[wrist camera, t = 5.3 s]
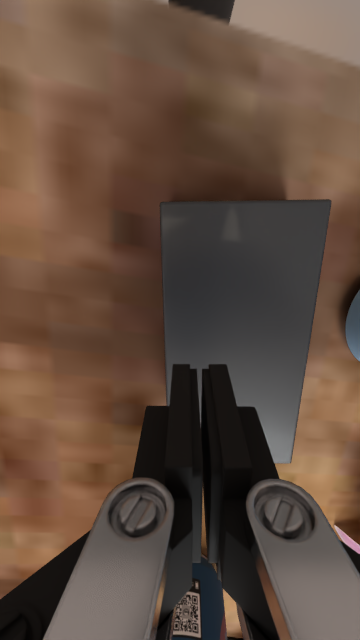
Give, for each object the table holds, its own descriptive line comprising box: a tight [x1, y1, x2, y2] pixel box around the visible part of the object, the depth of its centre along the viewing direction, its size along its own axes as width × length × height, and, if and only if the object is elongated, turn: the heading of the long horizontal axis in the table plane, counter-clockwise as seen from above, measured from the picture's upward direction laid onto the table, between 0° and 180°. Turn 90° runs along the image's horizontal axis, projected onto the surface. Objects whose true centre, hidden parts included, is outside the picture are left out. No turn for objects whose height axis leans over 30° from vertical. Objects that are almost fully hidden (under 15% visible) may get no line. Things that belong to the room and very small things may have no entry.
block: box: [160, 199, 331, 463], centre depth 15 cm, size 12×6×5 cm, turn 1°
